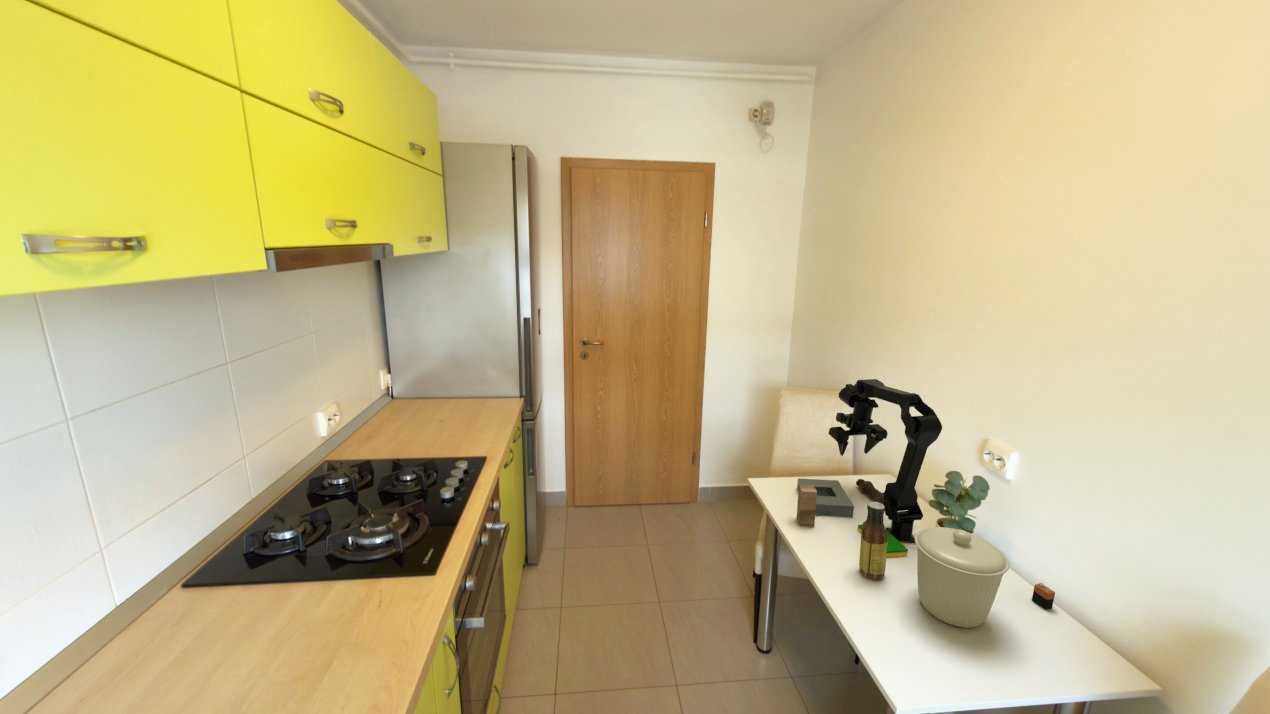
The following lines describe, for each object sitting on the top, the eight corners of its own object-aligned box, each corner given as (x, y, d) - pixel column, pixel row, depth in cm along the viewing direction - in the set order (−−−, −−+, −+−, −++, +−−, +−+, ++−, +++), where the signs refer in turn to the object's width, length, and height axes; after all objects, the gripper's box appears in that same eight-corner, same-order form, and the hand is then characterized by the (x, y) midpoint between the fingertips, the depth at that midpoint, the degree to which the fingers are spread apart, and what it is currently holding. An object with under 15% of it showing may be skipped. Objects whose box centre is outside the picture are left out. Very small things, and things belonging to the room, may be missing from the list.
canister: (1003, 610, 112) (1018, 531, 108) (990, 655, 100) (1006, 567, 95) (918, 575, 125) (928, 502, 120) (897, 611, 112) (907, 531, 108)
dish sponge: (878, 529, 146) (879, 522, 146) (908, 557, 133) (909, 549, 132) (856, 531, 145) (857, 524, 145) (884, 559, 132) (885, 551, 131)
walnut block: (814, 527, 147) (817, 492, 144) (799, 526, 148) (801, 491, 145) (810, 519, 151) (813, 485, 149) (796, 518, 152) (798, 484, 149)
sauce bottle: (887, 572, 126) (895, 505, 121) (880, 584, 121) (888, 514, 117) (861, 562, 130) (868, 496, 126) (853, 573, 126) (861, 505, 121)
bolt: (860, 491, 173) (886, 511, 158) (850, 485, 172) (874, 505, 157) (869, 478, 172) (895, 497, 158) (858, 472, 171) (884, 491, 157)
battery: (1038, 599, 116) (1041, 581, 115) (1052, 608, 113) (1056, 590, 112) (1030, 600, 115) (1034, 582, 114) (1045, 610, 112) (1049, 592, 111)
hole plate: (853, 517, 152) (854, 506, 151) (808, 514, 154) (809, 503, 153) (837, 490, 170) (838, 480, 169) (797, 488, 171) (797, 478, 171)
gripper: (872, 402, 167) (863, 440, 172) (823, 405, 164) (816, 443, 169) (893, 416, 157) (883, 457, 162) (841, 420, 154) (833, 461, 159)
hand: (853, 454), depth 164 cm, fingers open, 9 cm apart
